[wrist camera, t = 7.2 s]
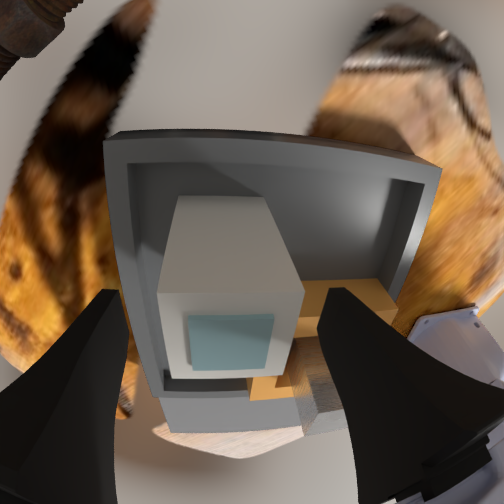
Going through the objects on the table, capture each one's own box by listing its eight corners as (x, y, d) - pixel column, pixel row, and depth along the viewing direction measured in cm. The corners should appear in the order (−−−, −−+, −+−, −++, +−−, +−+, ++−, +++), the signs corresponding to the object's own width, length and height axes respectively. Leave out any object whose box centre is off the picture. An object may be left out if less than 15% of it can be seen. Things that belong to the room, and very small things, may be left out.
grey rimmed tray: (416, 155, 15) (460, 179, 11) (343, 361, 24) (358, 397, 21) (120, 131, 12) (89, 149, 9) (155, 371, 21) (151, 413, 18)
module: (263, 197, 14) (307, 296, 8) (256, 266, 16) (283, 379, 10) (178, 195, 13) (155, 297, 7) (181, 266, 15) (171, 382, 9)
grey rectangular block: (331, 315, 19) (370, 403, 13) (320, 344, 20) (351, 427, 15) (288, 317, 18) (318, 413, 13) (281, 347, 20) (304, 436, 14)
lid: (344, 358, 24) (348, 369, 23) (315, 414, 29) (317, 422, 28) (154, 368, 21) (153, 380, 20) (170, 423, 27) (170, 432, 26)
